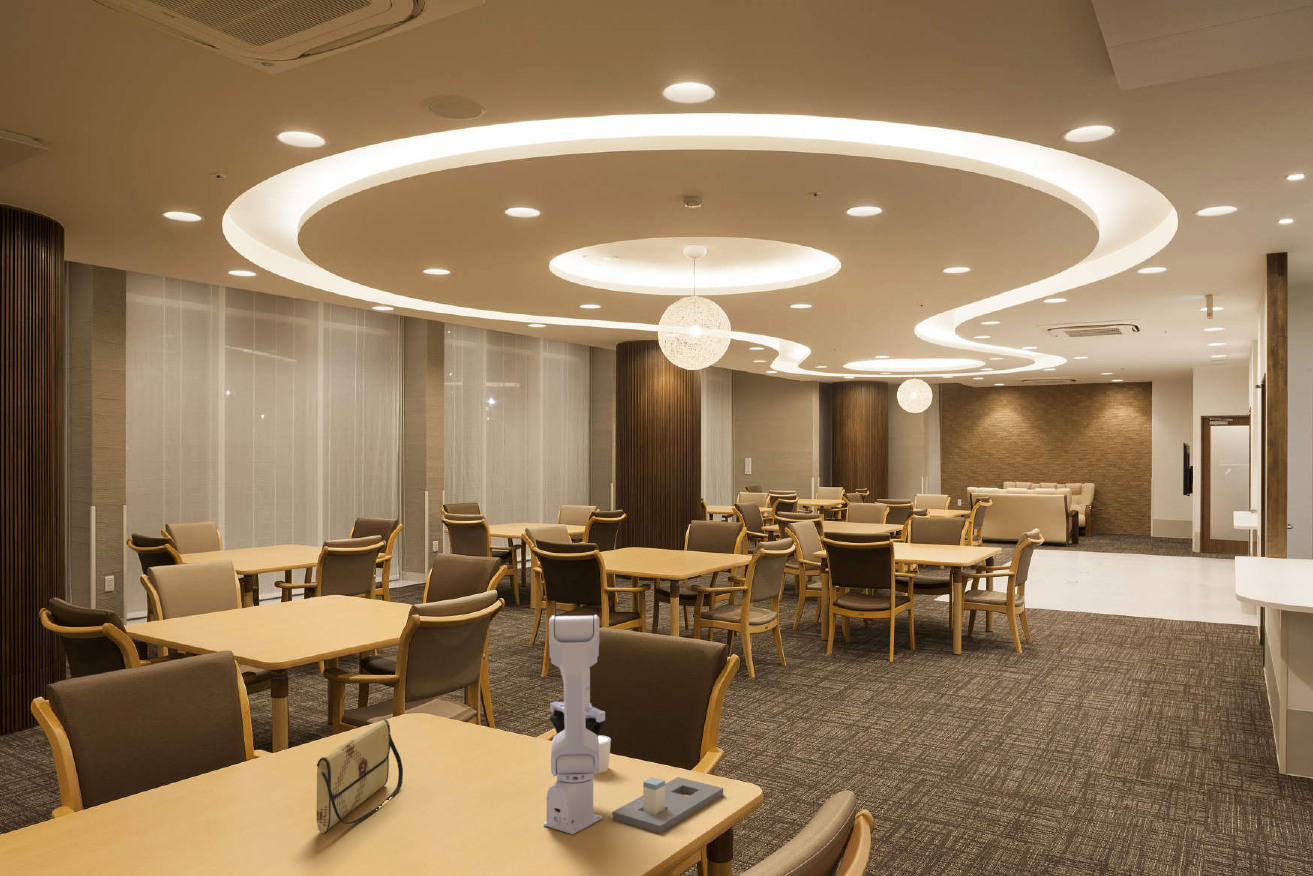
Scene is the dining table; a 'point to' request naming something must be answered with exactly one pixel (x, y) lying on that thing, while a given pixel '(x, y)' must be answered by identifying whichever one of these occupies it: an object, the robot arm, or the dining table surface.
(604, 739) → the white round cup
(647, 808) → the plug
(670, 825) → the socket board
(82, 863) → the dining table surface
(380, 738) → the clutch purse
